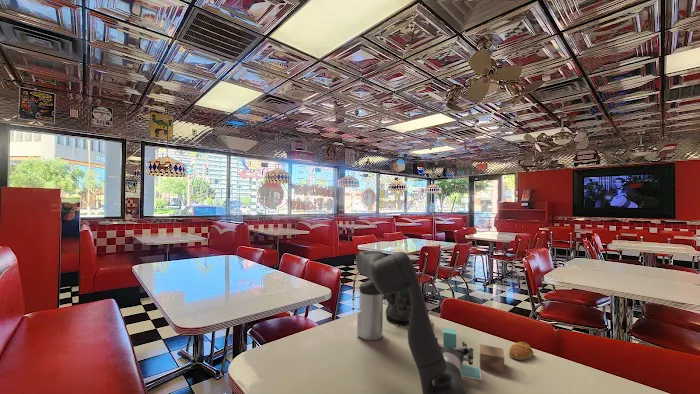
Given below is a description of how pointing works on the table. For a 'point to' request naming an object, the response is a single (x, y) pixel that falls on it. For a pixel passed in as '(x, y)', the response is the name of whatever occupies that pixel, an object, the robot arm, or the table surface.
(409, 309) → the beer stein
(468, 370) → the tile
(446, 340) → the teal block
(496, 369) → the walnut block
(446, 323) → the table surface
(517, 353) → the pastry
